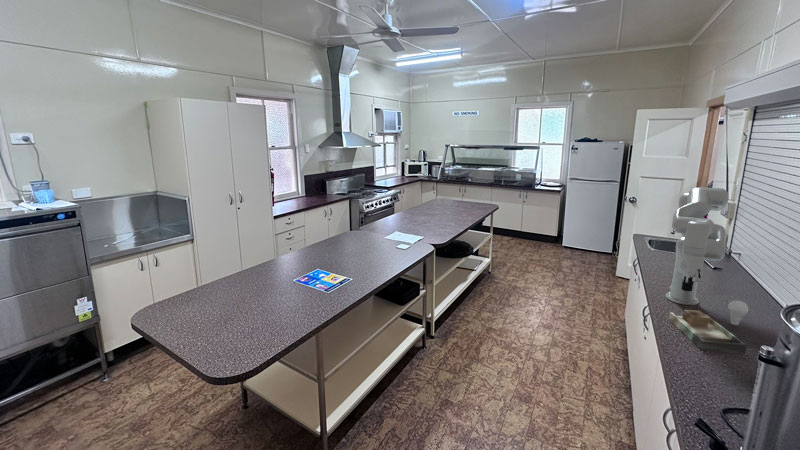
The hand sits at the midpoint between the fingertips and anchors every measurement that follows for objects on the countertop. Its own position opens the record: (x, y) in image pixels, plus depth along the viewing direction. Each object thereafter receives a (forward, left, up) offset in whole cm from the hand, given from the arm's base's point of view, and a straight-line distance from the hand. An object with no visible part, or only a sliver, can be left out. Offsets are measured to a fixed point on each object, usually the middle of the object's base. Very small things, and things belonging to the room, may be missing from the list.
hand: (686, 290), depth 152 cm
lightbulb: (+4, +17, -13) cm, 22 cm away
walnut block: (+8, 0, -11) cm, 14 cm away
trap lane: (+15, 0, -13) cm, 20 cm away
